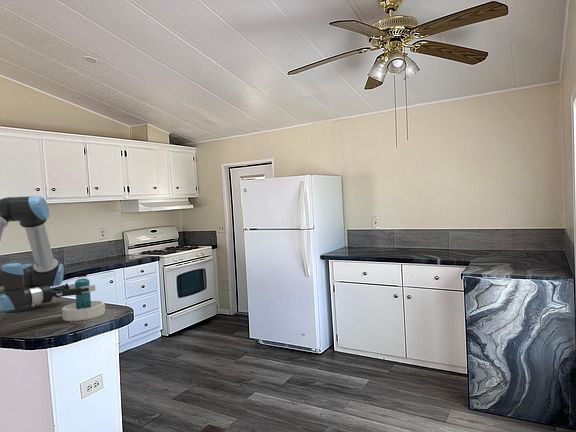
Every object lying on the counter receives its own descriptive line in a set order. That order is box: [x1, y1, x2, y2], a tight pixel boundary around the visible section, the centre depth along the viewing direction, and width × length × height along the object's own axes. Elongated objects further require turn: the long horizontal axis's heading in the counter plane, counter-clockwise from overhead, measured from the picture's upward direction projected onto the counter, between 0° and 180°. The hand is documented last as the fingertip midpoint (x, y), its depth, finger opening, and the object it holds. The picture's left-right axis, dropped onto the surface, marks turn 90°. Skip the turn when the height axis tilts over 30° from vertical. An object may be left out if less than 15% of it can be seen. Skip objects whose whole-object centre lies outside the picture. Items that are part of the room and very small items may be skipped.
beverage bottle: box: [74, 271, 92, 309], centre depth 198 cm, size 6×7×20 cm
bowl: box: [61, 300, 106, 322], centre depth 199 cm, size 18×18×5 cm
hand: (88, 286), depth 201 cm, fingers open, 13 cm apart
